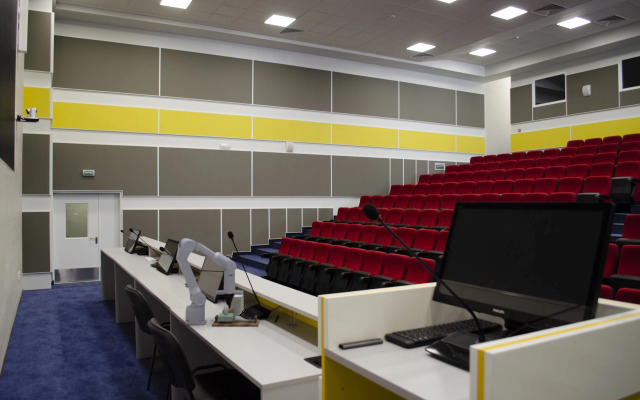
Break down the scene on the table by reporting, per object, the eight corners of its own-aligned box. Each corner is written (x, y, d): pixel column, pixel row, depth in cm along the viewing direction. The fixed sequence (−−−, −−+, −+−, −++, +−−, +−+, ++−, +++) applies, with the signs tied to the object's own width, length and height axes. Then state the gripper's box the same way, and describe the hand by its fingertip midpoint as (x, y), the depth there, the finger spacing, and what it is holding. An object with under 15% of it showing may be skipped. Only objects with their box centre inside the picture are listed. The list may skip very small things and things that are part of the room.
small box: (243, 313, 256) (243, 294, 256) (240, 315, 251) (241, 296, 251) (229, 312, 257) (230, 294, 257) (226, 315, 252) (227, 296, 252)
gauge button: (225, 312, 241) (225, 308, 241) (226, 310, 244) (226, 307, 244) (231, 312, 241) (231, 308, 241) (232, 311, 245) (232, 307, 245)
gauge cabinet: (222, 321, 239) (222, 311, 239) (223, 317, 246) (224, 308, 246) (233, 321, 240) (233, 311, 240) (235, 317, 246) (235, 308, 246)
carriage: (217, 321, 230) (218, 307, 230) (220, 317, 237) (220, 304, 237) (231, 321, 231) (232, 307, 231) (233, 317, 238) (233, 304, 238)
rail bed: (211, 326, 229) (211, 318, 229) (215, 321, 239) (215, 313, 239) (257, 326, 230) (257, 318, 230) (259, 321, 240) (259, 313, 240)
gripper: (214, 283, 239) (213, 309, 239) (242, 284, 239) (241, 309, 239) (216, 281, 246) (216, 306, 246) (243, 281, 246) (243, 306, 246)
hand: (229, 308), depth 243 cm, fingers closed, pressing on gauge button
